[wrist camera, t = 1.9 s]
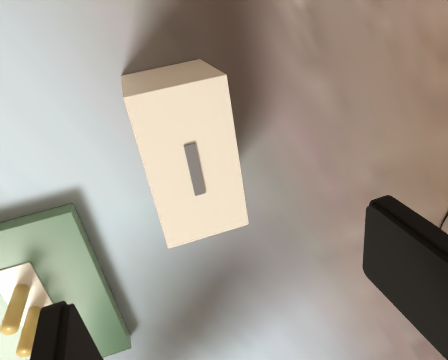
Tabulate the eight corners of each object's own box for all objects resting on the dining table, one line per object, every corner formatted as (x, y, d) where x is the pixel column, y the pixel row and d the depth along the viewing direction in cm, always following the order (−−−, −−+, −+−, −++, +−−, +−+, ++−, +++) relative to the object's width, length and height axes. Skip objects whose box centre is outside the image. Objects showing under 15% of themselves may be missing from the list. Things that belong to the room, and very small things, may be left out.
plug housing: (199, 58, 22) (227, 75, 17) (222, 181, 26) (249, 225, 21) (121, 75, 21) (123, 98, 16) (157, 199, 25) (168, 250, 20)
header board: (72, 203, 24) (64, 243, 20) (130, 336, 30) (133, 386, 26) (-89, 246, 22) (-135, 300, 18) (9, 377, 29) (-8, 438, 25)
